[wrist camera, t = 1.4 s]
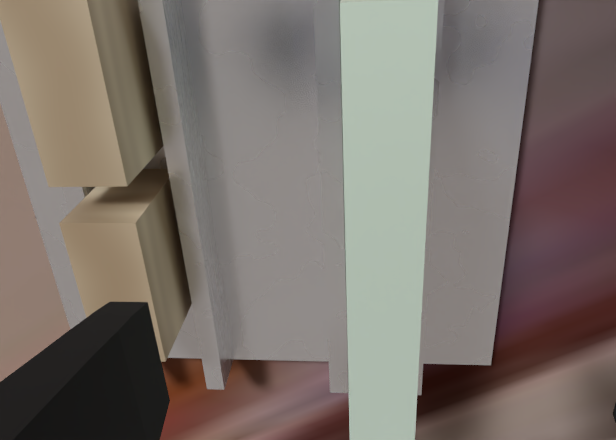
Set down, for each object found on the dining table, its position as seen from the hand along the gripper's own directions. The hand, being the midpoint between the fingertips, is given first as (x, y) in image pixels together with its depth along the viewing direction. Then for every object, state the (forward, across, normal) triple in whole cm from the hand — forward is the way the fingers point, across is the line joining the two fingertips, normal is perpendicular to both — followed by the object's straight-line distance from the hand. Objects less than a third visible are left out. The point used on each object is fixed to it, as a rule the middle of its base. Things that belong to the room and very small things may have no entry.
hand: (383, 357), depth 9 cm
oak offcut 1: (+9, +7, -3) cm, 12 cm away
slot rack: (+10, +3, 0) cm, 10 cm away
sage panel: (+9, 0, 0) cm, 9 cm away
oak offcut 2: (+9, +7, +3) cm, 12 cm away
